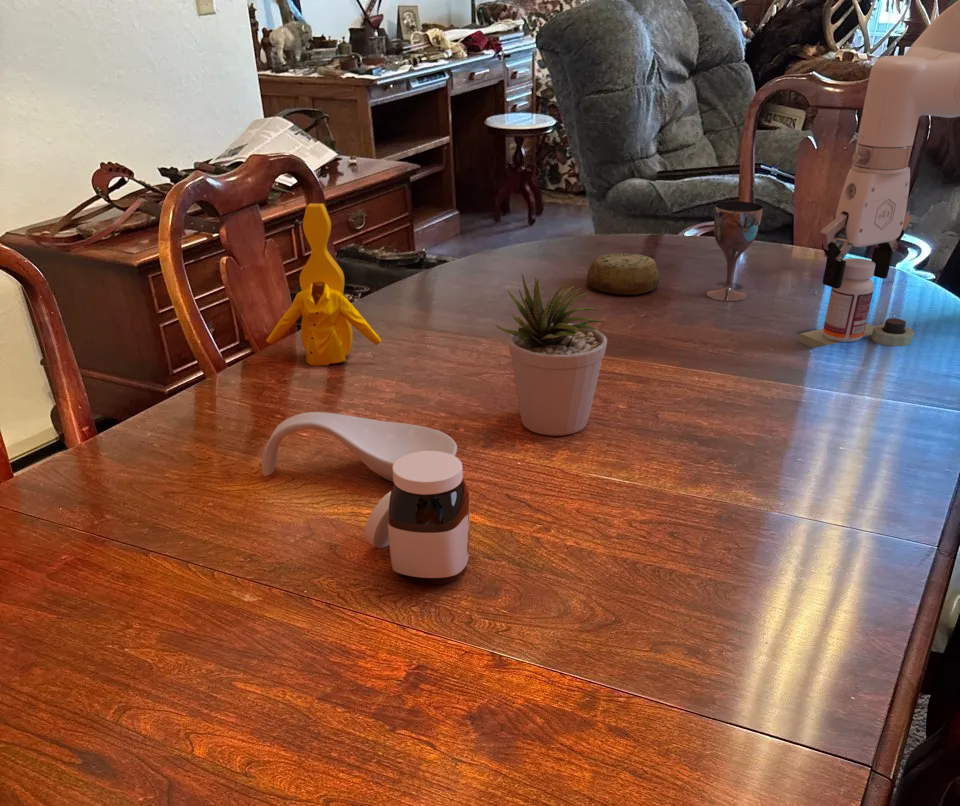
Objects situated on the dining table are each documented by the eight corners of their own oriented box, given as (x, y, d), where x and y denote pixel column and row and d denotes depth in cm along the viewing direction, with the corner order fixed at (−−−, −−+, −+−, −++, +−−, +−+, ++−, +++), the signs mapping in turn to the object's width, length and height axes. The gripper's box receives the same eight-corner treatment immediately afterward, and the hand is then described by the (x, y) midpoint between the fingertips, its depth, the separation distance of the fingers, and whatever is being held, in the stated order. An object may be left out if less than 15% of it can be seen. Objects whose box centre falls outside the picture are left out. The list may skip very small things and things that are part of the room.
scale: (856, 328, 158) (861, 310, 156) (917, 351, 149) (922, 332, 148) (798, 342, 153) (801, 323, 151) (857, 366, 144) (861, 346, 143)
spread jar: (458, 597, 95) (456, 492, 88) (349, 587, 96) (338, 483, 90) (480, 537, 104) (478, 438, 97) (379, 528, 106) (371, 431, 99)
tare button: (892, 328, 150) (895, 316, 149) (907, 333, 148) (910, 322, 147) (878, 331, 149) (881, 320, 148) (893, 336, 147) (896, 325, 146)
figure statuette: (266, 367, 146) (244, 213, 133) (277, 349, 152) (257, 201, 139) (381, 368, 145) (370, 213, 132) (387, 350, 152) (377, 201, 139)
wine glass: (704, 287, 177) (715, 200, 168) (748, 289, 176) (762, 202, 167) (703, 300, 171) (715, 210, 162) (749, 302, 170) (763, 212, 161)
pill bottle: (859, 331, 153) (876, 257, 146) (864, 344, 148) (882, 269, 141) (820, 329, 154) (834, 256, 147) (823, 342, 149) (839, 267, 142)
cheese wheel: (619, 271, 186) (621, 244, 183) (674, 286, 178) (677, 258, 175) (571, 285, 179) (573, 258, 176) (626, 301, 171) (629, 273, 168)
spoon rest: (459, 452, 122) (458, 398, 117) (455, 495, 112) (454, 439, 108) (275, 451, 122) (267, 398, 118) (255, 494, 113) (246, 438, 108)
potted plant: (522, 398, 136) (525, 251, 124) (614, 414, 131) (626, 263, 119) (483, 431, 126) (482, 276, 115) (581, 450, 122) (590, 290, 110)
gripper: (857, 168, 130) (831, 296, 140) (944, 155, 136) (914, 278, 146) (816, 160, 135) (794, 283, 145) (903, 147, 142) (876, 267, 152)
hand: (854, 281), depth 146 cm, fingers open, 9 cm apart
